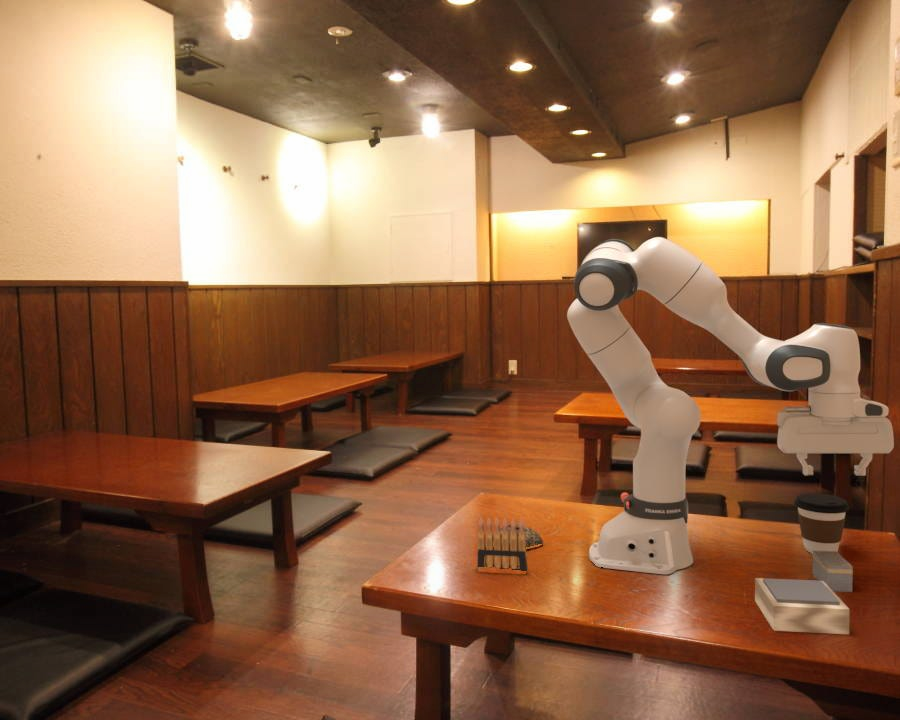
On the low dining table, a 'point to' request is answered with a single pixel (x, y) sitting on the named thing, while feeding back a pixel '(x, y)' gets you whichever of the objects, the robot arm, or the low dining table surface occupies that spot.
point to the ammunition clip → (504, 555)
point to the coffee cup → (821, 520)
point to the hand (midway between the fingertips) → (833, 475)
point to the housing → (833, 570)
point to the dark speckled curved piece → (530, 535)
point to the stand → (801, 606)
